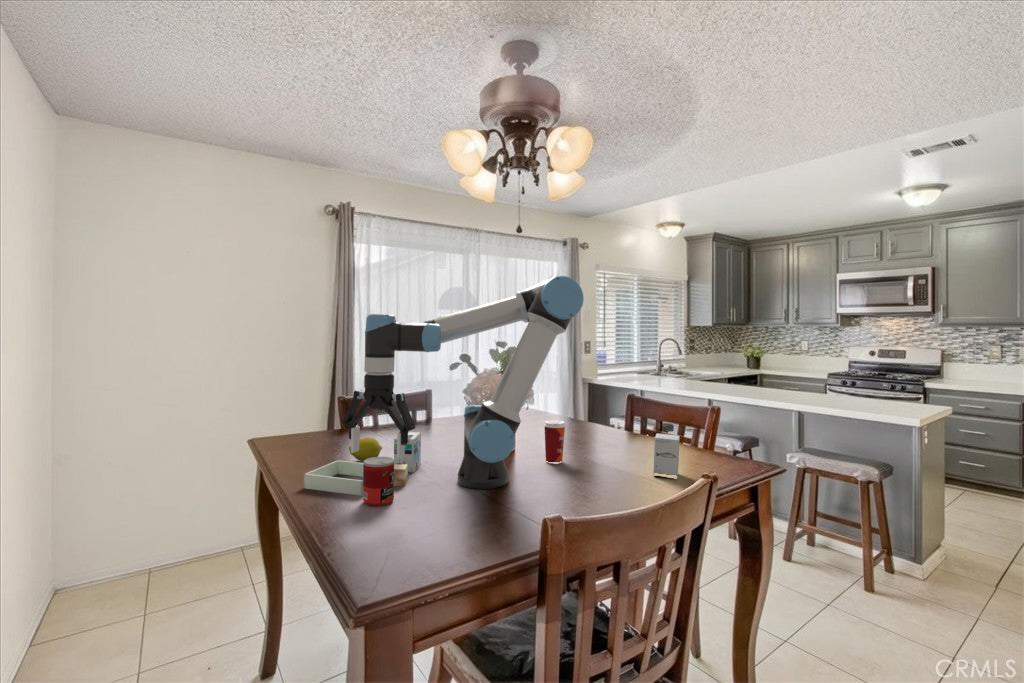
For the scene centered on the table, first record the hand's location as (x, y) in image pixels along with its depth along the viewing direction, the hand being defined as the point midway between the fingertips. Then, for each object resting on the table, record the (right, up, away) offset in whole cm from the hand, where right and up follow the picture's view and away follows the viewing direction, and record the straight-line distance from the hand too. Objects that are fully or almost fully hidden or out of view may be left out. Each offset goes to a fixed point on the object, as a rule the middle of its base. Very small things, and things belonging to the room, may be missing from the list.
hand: (377, 454), depth 126 cm
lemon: (-15, -12, +38) cm, 43 cm away
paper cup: (+50, -12, +41) cm, 66 cm away
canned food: (0, -13, 0) cm, 13 cm away
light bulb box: (+1, -12, +31) cm, 34 cm away
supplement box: (+84, -13, +28) cm, 90 cm away
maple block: (+2, -12, +16) cm, 20 cm away
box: (-12, -12, +15) cm, 23 cm away
